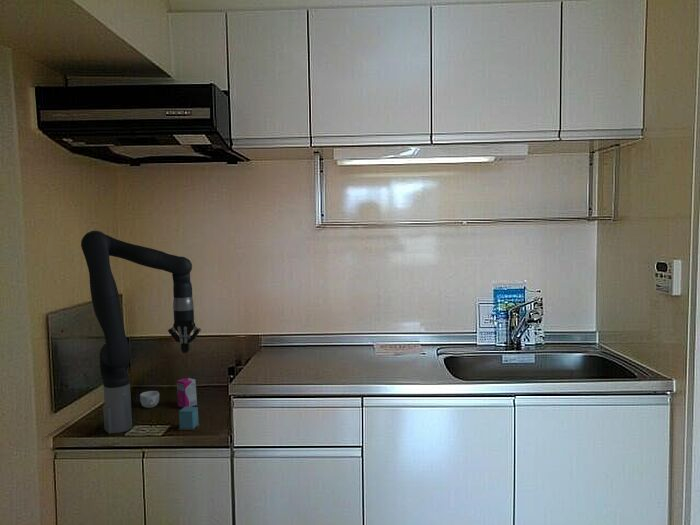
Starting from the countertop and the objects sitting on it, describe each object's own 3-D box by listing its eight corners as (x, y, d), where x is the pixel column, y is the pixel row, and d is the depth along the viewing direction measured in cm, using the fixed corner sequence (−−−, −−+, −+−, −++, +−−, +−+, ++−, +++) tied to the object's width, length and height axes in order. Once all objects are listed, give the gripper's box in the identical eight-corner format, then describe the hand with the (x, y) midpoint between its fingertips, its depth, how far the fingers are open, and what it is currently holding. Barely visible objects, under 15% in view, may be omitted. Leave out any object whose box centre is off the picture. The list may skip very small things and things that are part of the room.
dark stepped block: (193, 430, 216) (192, 413, 215) (178, 430, 216) (177, 413, 216) (199, 424, 221) (199, 408, 221) (184, 424, 222) (184, 407, 222)
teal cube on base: (192, 428, 216) (192, 411, 215) (179, 428, 217) (178, 411, 216) (198, 423, 221) (197, 407, 221) (185, 423, 222) (184, 406, 221)
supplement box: (189, 403, 247) (187, 377, 246) (197, 406, 244) (196, 379, 243) (177, 407, 243) (176, 380, 242) (185, 409, 239) (184, 382, 238)
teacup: (138, 405, 246) (137, 393, 246) (156, 402, 250) (156, 389, 250) (144, 411, 238) (143, 399, 237) (163, 408, 242) (162, 395, 241)
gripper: (203, 306, 226) (205, 350, 228) (171, 306, 228) (173, 350, 229) (196, 310, 219) (197, 355, 220) (162, 310, 220) (165, 354, 222)
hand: (185, 352), depth 225 cm, fingers closed
